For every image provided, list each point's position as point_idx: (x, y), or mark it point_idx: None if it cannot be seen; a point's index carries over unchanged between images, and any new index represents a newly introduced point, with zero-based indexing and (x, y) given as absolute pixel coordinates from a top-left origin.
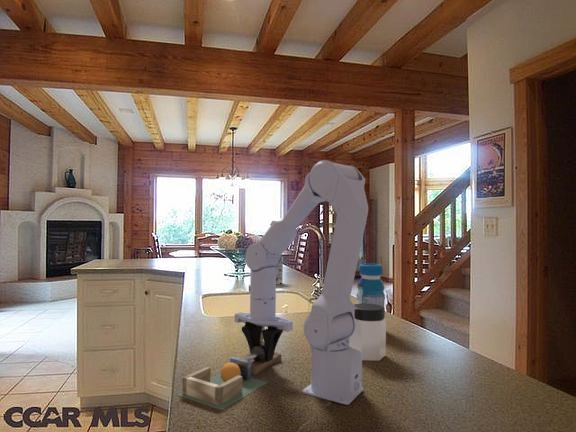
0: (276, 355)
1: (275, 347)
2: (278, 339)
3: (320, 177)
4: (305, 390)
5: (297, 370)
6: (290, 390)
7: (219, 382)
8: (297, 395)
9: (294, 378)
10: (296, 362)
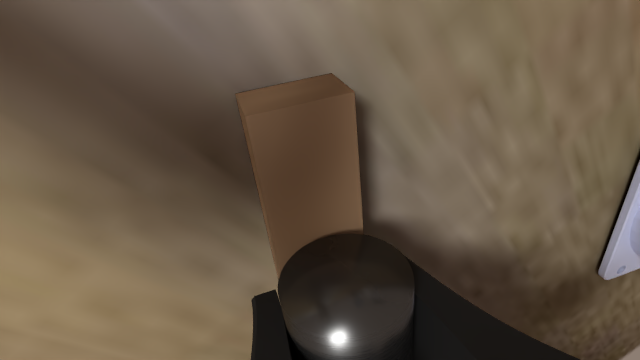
0: (343, 151)
1: (465, 301)
2: (542, 347)
3: None
4: (615, 271)
5: (509, 123)
6: (550, 285)
7: None
8: (581, 288)
9: (530, 209)
10: (448, 5)
